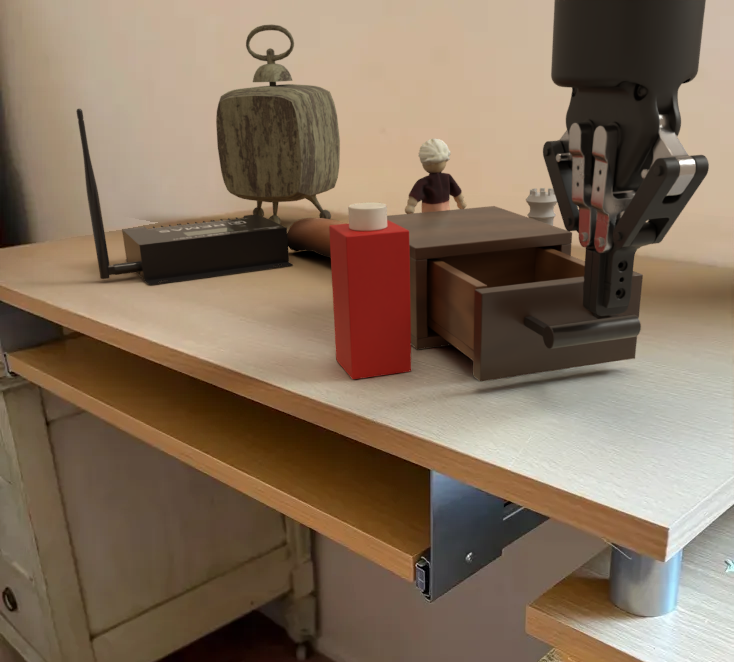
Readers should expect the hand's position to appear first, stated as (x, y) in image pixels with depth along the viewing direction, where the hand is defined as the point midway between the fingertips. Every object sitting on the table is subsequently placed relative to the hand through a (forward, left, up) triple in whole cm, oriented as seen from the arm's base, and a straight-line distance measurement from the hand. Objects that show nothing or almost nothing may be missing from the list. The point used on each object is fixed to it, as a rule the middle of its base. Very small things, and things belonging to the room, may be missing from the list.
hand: (604, 310), depth 49 cm
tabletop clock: (+5, -72, -6) cm, 72 cm away
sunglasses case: (+2, -46, -6) cm, 46 cm away
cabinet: (0, -22, -6) cm, 22 cm away
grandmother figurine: (-6, -43, -6) cm, 44 cm away
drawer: (0, -9, -5) cm, 10 cm away
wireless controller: (+20, -52, -6) cm, 56 cm away
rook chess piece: (-14, -34, -6) cm, 37 cm away
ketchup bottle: (+11, -13, -6) cm, 18 cm away
